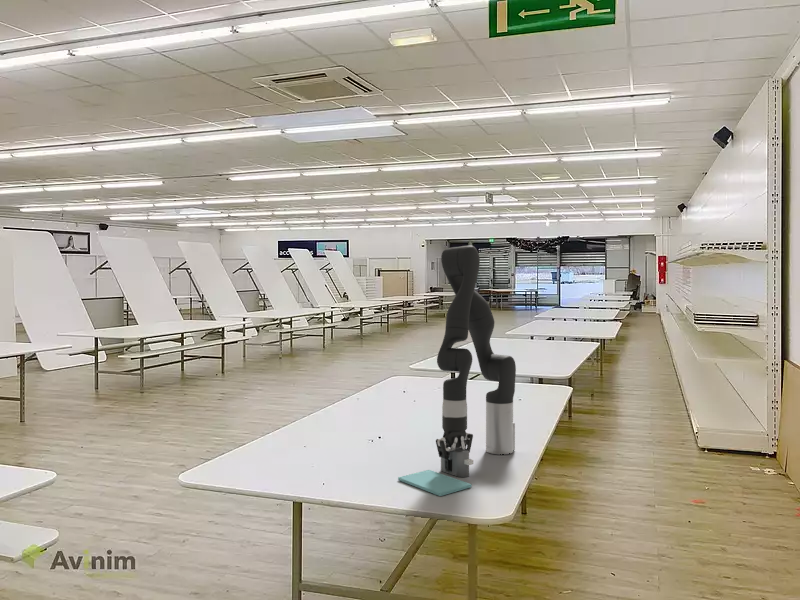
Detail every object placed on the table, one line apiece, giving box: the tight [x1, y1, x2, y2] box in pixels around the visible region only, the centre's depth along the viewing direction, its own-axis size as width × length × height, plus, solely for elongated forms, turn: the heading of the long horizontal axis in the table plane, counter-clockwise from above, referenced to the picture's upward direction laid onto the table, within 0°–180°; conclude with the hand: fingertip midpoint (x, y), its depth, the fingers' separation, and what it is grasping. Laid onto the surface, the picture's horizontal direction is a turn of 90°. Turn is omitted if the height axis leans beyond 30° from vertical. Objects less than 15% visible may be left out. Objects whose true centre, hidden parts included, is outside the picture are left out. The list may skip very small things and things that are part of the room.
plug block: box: [440, 447, 474, 478], centre depth 187 cm, size 4×12×7 cm, turn 39°
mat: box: [397, 469, 472, 497], centre depth 178 cm, size 12×18×1 cm, turn 39°
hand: (454, 469), depth 188 cm, fingers closed on plug block, 4 cm apart
